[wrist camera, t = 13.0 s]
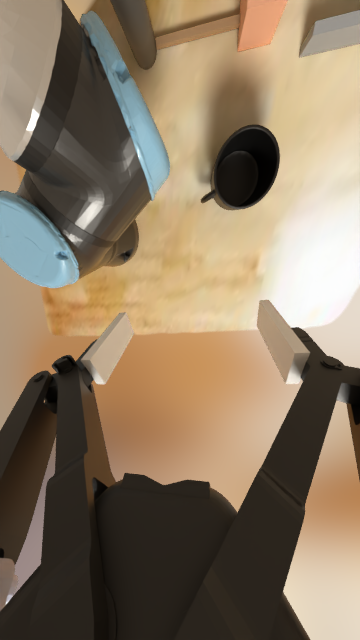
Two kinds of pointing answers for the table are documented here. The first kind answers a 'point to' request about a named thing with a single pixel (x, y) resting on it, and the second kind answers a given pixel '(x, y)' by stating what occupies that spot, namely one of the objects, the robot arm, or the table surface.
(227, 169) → the mug
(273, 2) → the block
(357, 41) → the lane shelf
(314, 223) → the table surface
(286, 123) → the table surface
